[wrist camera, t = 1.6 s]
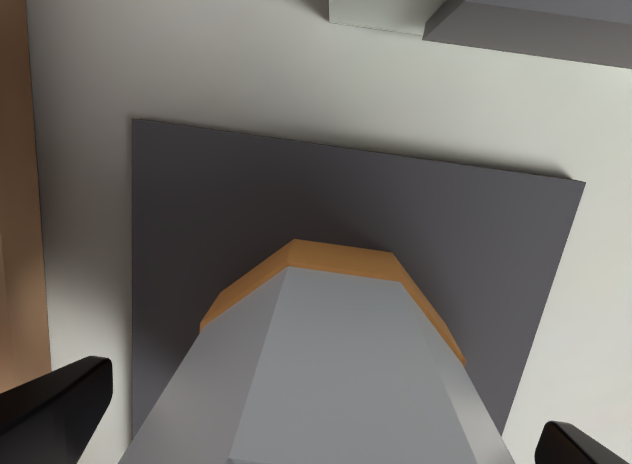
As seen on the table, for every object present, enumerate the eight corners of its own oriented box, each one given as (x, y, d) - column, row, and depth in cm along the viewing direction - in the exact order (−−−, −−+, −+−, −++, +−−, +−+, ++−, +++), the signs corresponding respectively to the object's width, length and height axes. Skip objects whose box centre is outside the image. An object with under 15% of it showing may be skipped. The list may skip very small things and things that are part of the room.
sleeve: (412, 451, 11) (509, 850, 5) (211, 423, 11) (64, 786, 5) (461, 262, 9) (693, 514, 3) (224, 229, 9) (32, 419, 3)
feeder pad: (468, 508, 12) (472, 522, 11) (138, 462, 12) (132, 473, 11) (574, 179, 9) (585, 182, 8) (140, 119, 9) (131, 118, 8)
